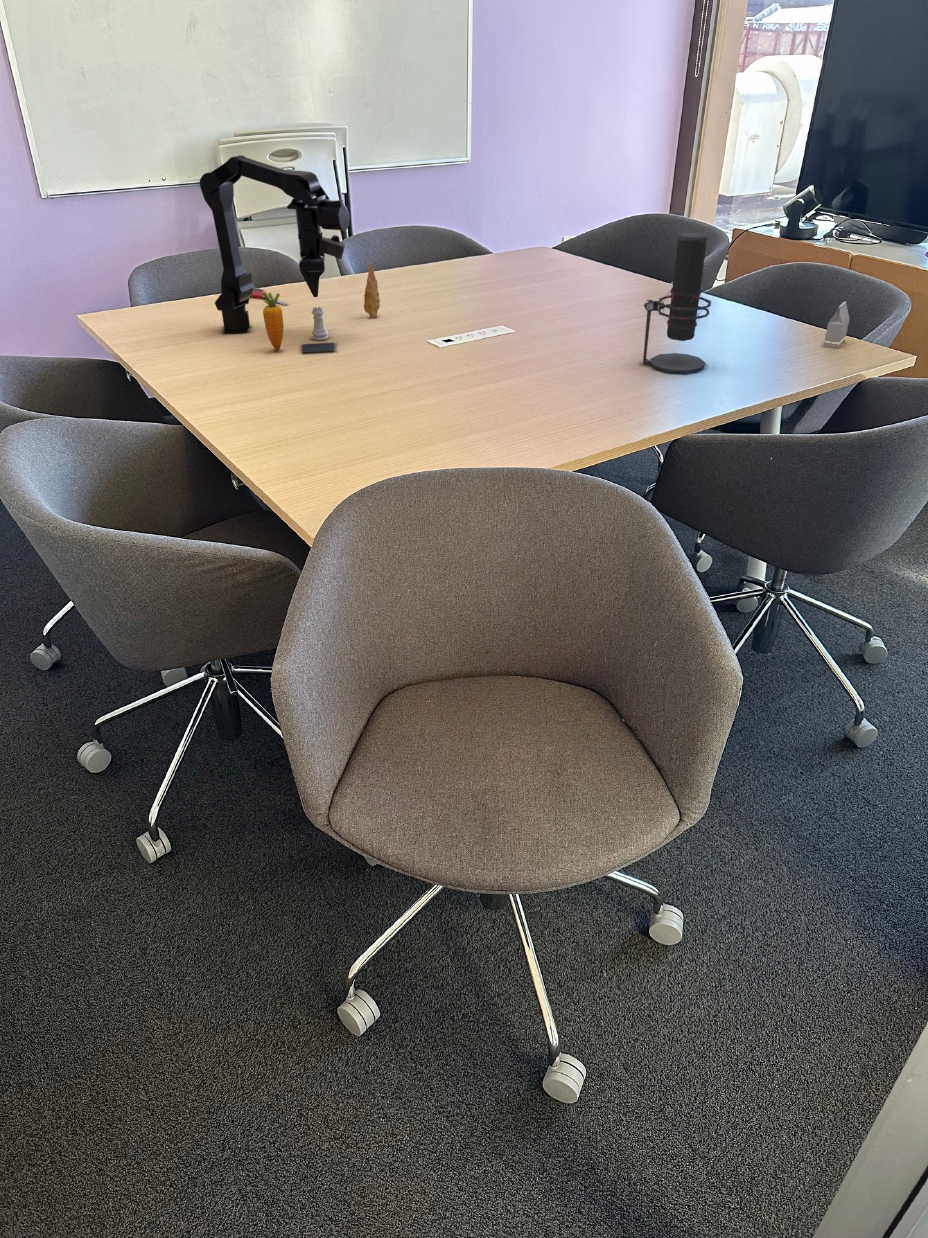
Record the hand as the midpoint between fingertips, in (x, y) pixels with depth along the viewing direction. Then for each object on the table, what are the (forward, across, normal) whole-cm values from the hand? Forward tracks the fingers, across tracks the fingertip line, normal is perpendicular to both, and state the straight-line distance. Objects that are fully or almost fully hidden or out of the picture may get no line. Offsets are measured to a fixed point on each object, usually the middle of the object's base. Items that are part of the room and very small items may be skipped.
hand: (315, 292), depth 235 cm
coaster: (+12, -9, +1) cm, 15 cm away
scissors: (+12, +45, +16) cm, 49 cm away
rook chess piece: (+12, 0, 0) cm, 12 cm away
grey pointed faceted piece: (+13, -27, -132) cm, 135 cm away
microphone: (+13, -37, -86) cm, 94 cm away
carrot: (+12, -9, +11) cm, 19 cm away
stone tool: (+12, +18, -15) cm, 26 cm away
